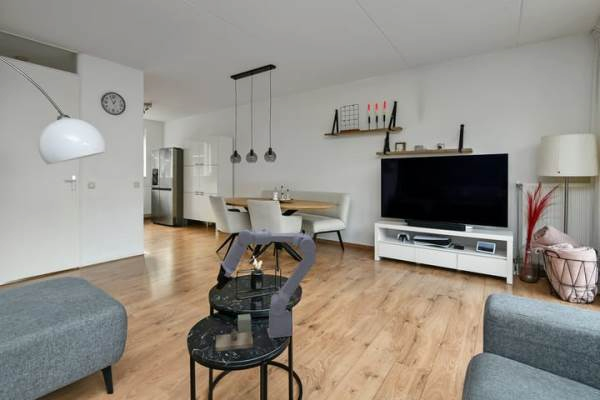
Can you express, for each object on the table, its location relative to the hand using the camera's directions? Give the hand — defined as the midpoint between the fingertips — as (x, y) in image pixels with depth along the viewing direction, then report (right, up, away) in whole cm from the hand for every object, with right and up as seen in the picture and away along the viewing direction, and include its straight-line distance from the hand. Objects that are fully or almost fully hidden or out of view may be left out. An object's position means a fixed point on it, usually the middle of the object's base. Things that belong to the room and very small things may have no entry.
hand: (218, 285), depth 127 cm
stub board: (+7, -22, -5) cm, 23 cm away
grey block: (+10, -21, +6) cm, 23 cm away
